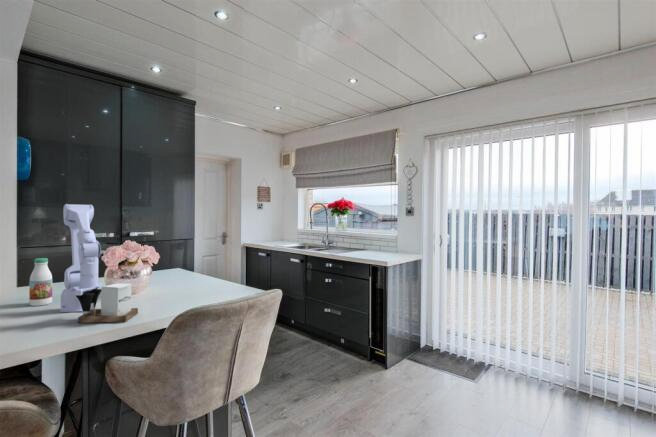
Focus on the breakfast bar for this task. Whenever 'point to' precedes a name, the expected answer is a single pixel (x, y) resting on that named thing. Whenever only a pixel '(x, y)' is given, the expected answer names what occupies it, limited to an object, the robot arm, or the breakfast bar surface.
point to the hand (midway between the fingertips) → (88, 309)
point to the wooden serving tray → (91, 316)
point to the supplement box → (116, 299)
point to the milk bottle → (40, 284)
